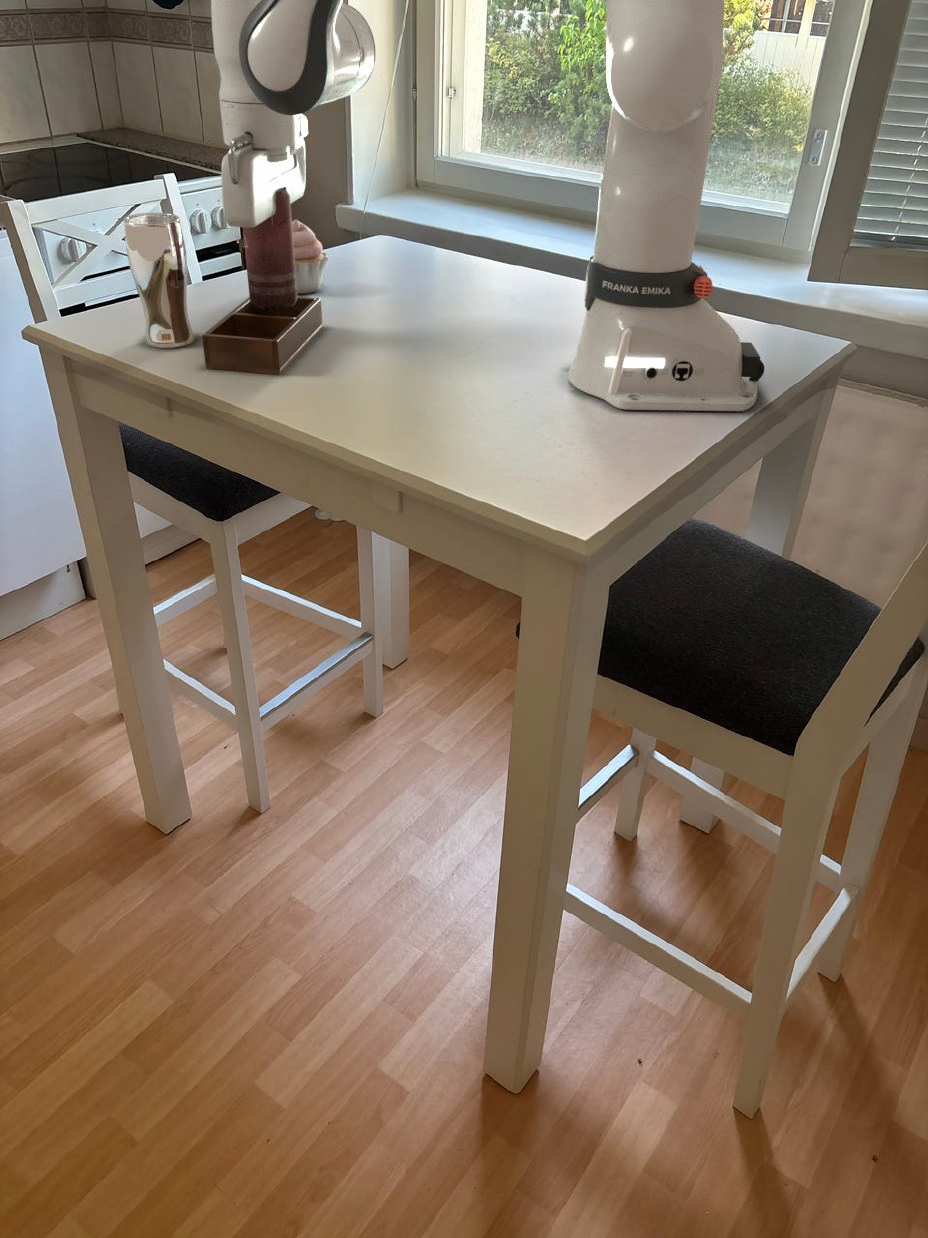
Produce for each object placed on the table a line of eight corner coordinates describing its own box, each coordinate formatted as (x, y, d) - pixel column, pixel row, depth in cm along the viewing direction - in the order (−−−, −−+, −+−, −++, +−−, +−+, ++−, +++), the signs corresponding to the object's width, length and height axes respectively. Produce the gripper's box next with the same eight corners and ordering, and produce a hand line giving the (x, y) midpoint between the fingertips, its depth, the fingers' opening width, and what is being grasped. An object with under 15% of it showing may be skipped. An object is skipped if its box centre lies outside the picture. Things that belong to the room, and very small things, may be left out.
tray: (322, 328, 129) (320, 298, 127) (280, 374, 115) (277, 341, 112) (256, 323, 130) (253, 292, 128) (205, 368, 116) (201, 335, 113)
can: (261, 313, 120) (249, 193, 112) (243, 299, 124) (231, 184, 117) (305, 307, 123) (297, 189, 115) (287, 294, 127) (278, 180, 119)
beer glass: (183, 351, 120) (165, 226, 112) (132, 346, 121) (110, 222, 113) (206, 334, 126) (190, 214, 117) (157, 330, 127) (138, 210, 118)
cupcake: (298, 301, 139) (293, 229, 133) (255, 288, 144) (249, 218, 138) (343, 288, 145) (340, 219, 140) (301, 276, 150) (296, 209, 144)
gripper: (256, 141, 103) (267, 272, 111) (311, 117, 120) (318, 233, 128) (200, 138, 104) (216, 269, 112) (263, 115, 120) (273, 230, 128)
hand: (271, 249), depth 120 cm, fingers closed, pressing on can
